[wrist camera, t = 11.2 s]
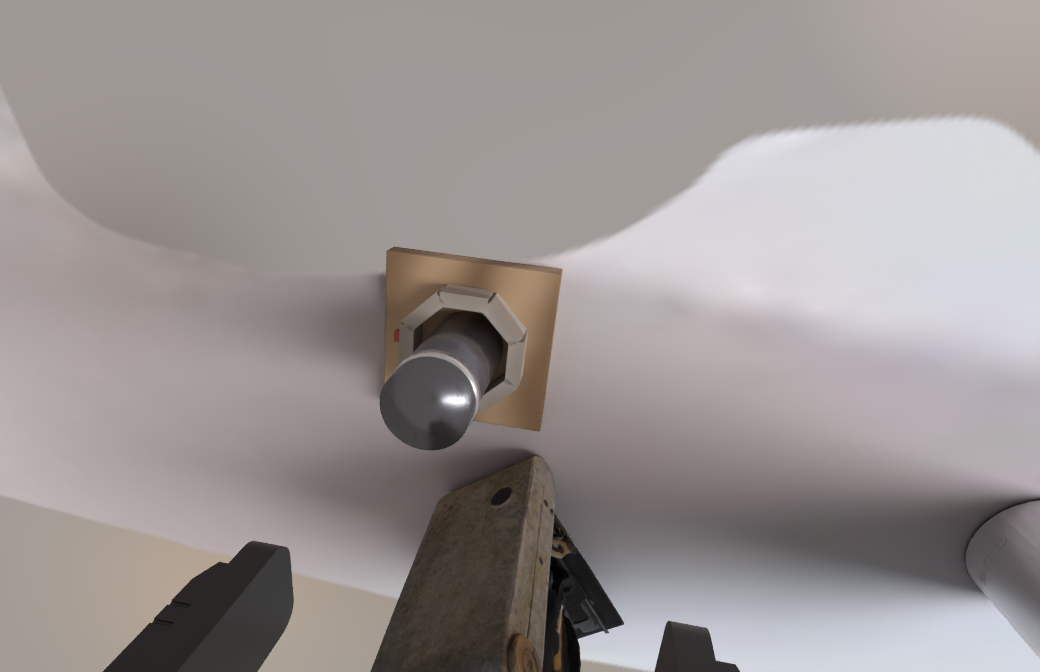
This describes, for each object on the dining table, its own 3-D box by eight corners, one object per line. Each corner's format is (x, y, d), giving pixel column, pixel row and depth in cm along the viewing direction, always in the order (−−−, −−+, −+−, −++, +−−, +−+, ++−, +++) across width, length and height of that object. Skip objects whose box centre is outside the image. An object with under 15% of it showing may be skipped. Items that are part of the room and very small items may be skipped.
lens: (508, 315, 36) (475, 373, 27) (501, 383, 38) (468, 459, 29) (435, 304, 37) (378, 357, 28) (431, 372, 39) (377, 442, 30)
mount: (562, 269, 36) (558, 281, 33) (541, 421, 41) (536, 445, 37) (394, 246, 38) (375, 256, 34) (391, 397, 42) (373, 418, 39)
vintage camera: (531, 614, 48) (501, 916, 30) (437, 488, 44) (335, 746, 26) (627, 580, 46) (661, 886, 27) (537, 442, 41) (505, 692, 23)
